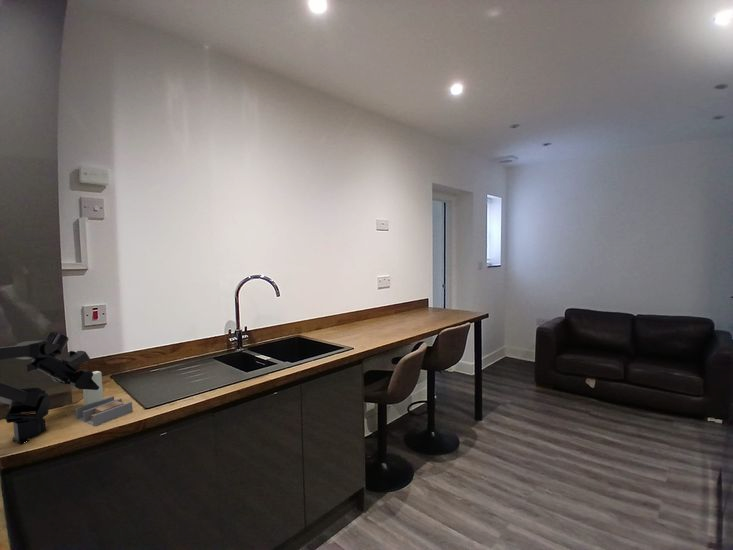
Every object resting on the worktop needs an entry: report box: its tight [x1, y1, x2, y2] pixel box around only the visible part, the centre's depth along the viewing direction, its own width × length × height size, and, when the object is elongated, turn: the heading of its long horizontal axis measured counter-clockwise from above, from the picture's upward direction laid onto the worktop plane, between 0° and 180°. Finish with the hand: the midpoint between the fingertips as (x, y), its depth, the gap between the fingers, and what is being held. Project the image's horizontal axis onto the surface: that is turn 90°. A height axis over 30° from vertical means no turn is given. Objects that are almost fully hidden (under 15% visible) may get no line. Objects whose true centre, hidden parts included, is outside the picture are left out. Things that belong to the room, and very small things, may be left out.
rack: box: [74, 395, 134, 427], centre depth 129 cm, size 12×12×4 cm
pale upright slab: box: [82, 370, 104, 406], centre depth 137 cm, size 5×3×13 cm, turn 152°
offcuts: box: [90, 401, 125, 421], centre depth 128 cm, size 9×4×4 cm, turn 152°
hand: (91, 386), depth 136 cm, fingers open, 9 cm apart
